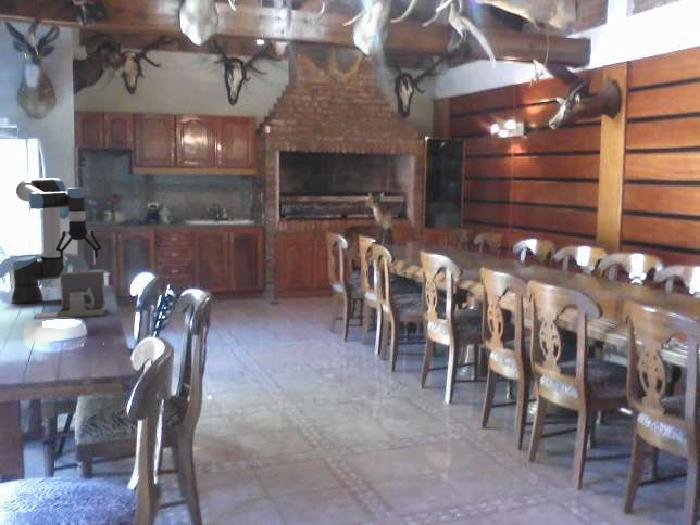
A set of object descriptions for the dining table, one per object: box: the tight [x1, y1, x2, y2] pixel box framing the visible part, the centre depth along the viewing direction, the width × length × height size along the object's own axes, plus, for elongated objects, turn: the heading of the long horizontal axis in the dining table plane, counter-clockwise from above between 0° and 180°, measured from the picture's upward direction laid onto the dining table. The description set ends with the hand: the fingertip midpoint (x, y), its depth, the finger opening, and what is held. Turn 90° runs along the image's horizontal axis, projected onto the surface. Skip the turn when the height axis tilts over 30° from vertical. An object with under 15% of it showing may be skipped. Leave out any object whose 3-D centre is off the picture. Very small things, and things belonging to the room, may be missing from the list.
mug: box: [69, 287, 95, 311], centre depth 356 cm, size 8×12×12 cm, turn 119°
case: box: [57, 270, 106, 318], centre depth 356 cm, size 19×20×19 cm
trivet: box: [33, 311, 58, 319], centre depth 352 cm, size 10×10×1 cm
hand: (79, 265), depth 354 cm, fingers open, 13 cm apart
